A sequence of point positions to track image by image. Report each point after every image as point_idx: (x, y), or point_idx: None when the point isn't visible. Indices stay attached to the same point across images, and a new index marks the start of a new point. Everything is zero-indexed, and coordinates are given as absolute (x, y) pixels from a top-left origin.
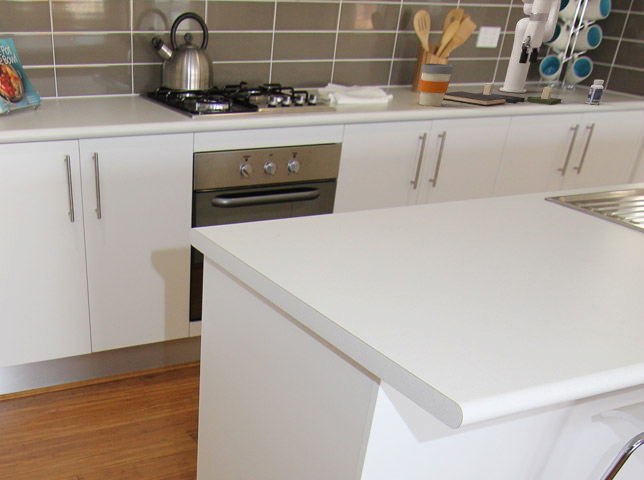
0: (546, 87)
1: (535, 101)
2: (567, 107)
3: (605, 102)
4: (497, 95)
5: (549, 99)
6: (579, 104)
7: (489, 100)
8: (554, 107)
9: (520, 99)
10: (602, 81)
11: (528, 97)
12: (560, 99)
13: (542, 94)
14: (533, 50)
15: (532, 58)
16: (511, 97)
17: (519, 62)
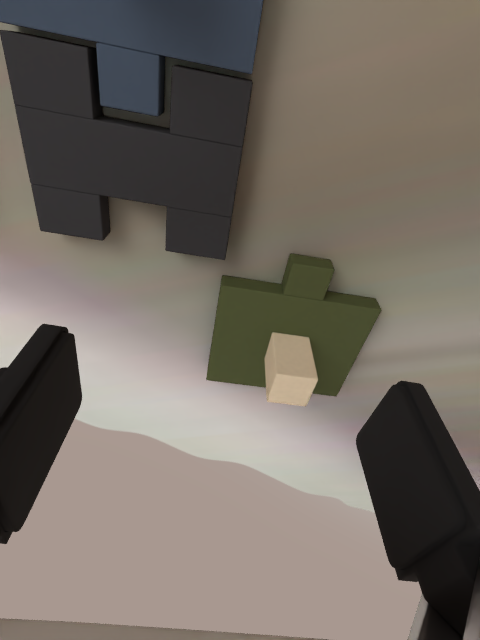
0: (291, 383)
1: (216, 312)
2: (186, 419)
3: (475, 473)
4: (155, 37)
5: (264, 366)
6: (332, 432)
7: None
8: (130, 391)
9: (166, 244)
10: None
11: (290, 266)
12: (323, 394)
13: (272, 348)
14: (474, 585)
15: (392, 452)
16: (141, 186)
17: (42, 330)
